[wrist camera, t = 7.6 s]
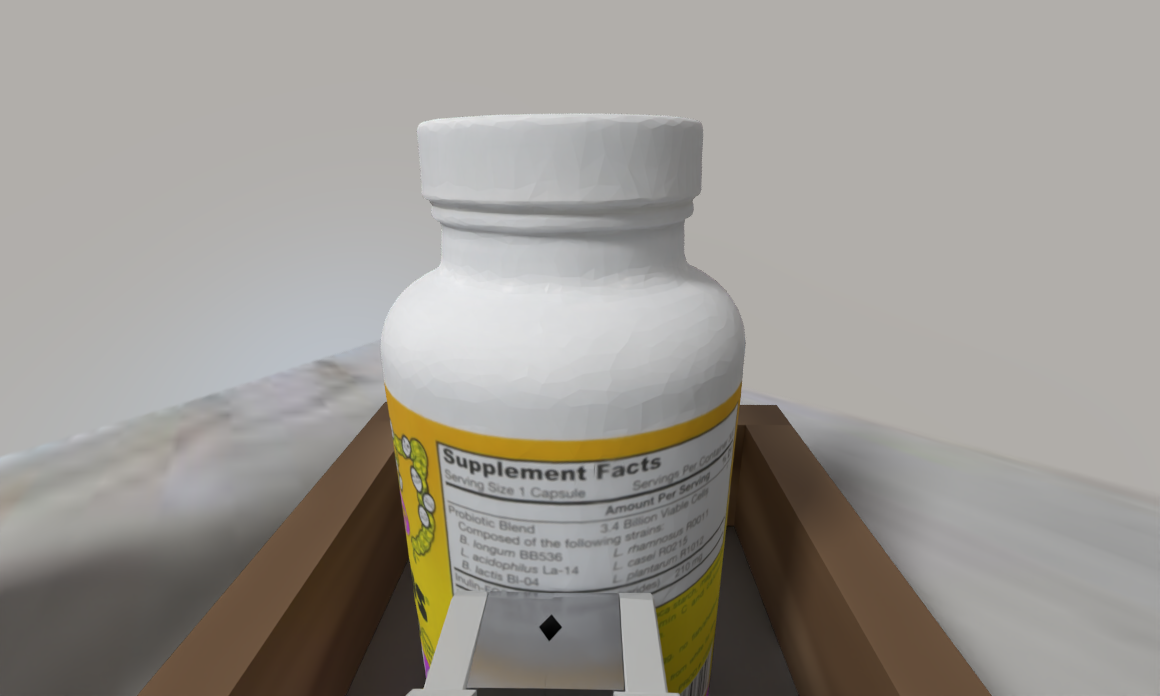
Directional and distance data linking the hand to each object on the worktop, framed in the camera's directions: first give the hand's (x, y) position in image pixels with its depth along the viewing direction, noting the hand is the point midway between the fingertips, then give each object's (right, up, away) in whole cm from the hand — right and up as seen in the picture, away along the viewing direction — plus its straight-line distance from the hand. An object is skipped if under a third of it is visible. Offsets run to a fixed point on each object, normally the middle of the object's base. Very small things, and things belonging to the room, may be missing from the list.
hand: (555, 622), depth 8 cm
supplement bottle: (0, -4, +5) cm, 7 cm away
